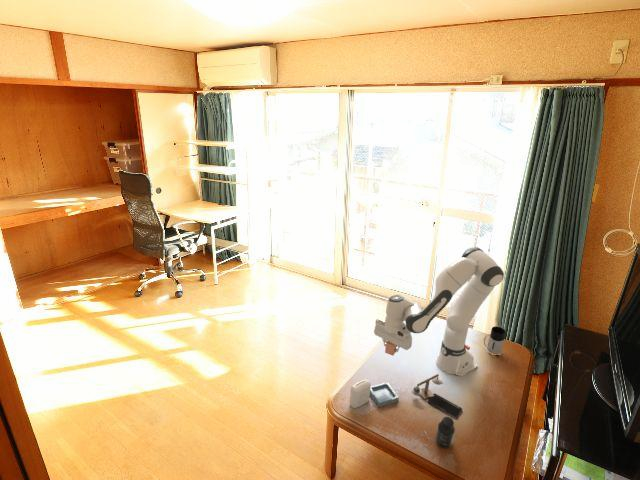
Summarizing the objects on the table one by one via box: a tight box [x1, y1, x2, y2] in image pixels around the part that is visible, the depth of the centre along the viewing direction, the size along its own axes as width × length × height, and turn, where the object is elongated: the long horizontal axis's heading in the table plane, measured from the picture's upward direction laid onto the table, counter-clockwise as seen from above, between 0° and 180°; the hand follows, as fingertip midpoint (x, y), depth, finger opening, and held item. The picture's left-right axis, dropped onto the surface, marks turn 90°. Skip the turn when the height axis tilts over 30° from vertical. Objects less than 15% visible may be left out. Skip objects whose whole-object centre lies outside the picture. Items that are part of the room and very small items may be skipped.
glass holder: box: [483, 325, 507, 354], centre depth 216 cm, size 9×14×15 cm, turn 113°
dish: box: [370, 381, 400, 408], centre depth 183 cm, size 11×11×2 cm
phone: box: [427, 393, 463, 420], centre depth 179 cm, size 8×1×15 cm
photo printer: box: [349, 379, 372, 409], centre depth 177 cm, size 10×4×12 cm, turn 123°
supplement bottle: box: [435, 416, 456, 449], centre depth 158 cm, size 7×7×12 cm
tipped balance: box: [411, 373, 443, 401], centre depth 184 cm, size 17×6×11 cm, turn 111°
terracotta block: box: [384, 340, 397, 356], centre depth 190 cm, size 4×4×6 cm
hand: (391, 348), depth 190 cm, fingers closed on terracotta block, 5 cm apart
